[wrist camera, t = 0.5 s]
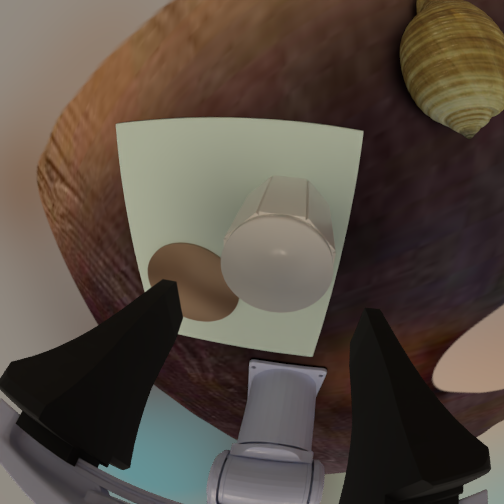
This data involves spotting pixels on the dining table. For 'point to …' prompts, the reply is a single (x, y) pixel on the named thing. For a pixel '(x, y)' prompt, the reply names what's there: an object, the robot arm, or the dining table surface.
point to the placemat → (232, 202)
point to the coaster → (194, 280)
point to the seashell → (454, 64)
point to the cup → (280, 246)
